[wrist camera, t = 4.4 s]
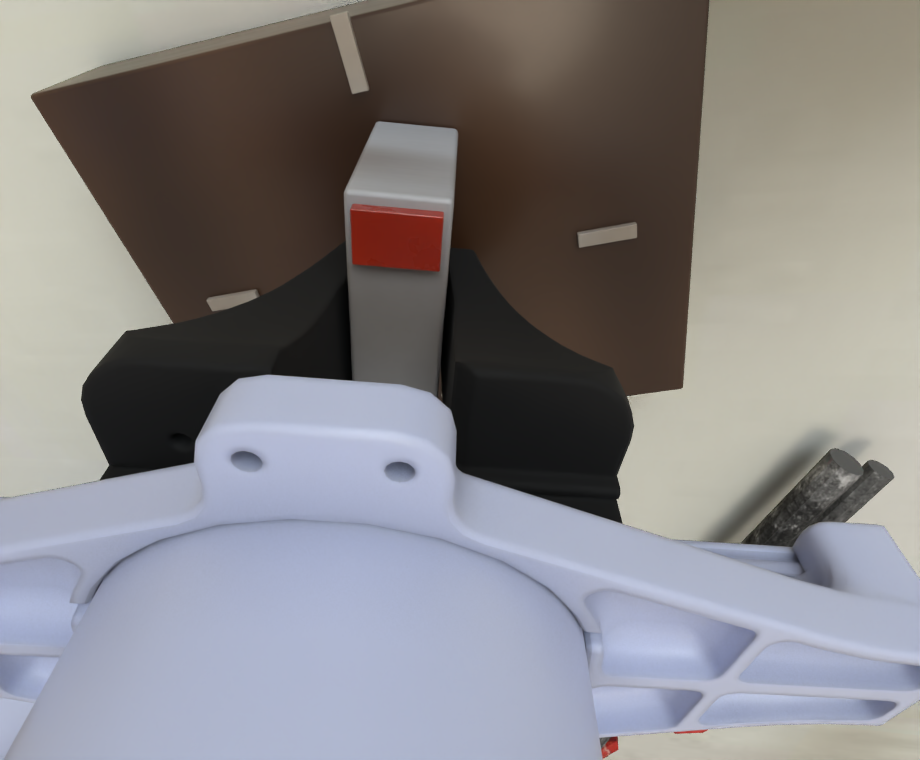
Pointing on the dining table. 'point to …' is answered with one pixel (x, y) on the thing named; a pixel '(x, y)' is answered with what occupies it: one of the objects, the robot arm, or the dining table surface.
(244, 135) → the block
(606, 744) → the grey and red tool
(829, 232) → the dining table surface
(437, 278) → the tap handle
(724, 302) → the dining table surface
